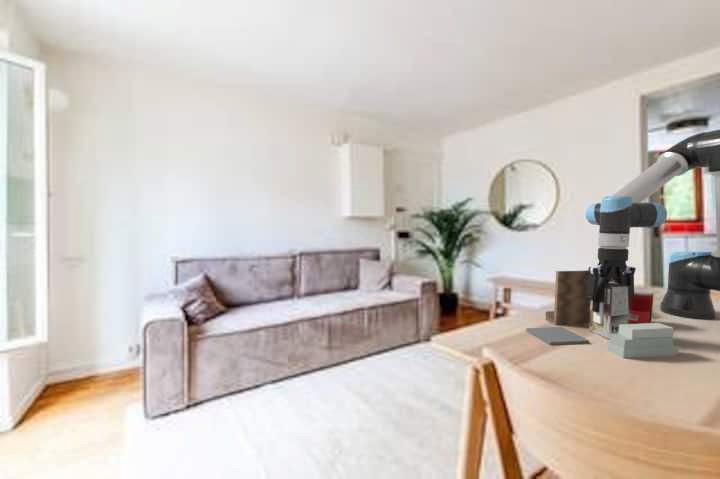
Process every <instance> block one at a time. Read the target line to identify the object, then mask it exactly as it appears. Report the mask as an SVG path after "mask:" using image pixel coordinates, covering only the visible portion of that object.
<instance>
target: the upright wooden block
mask: <svg viewBox="0 0 720 479" xmlns="http://www.w3.org/2000/svg"><path fill="white" fill-rule="evenodd" d="M599 272H600V271H599ZM599 274H600V273H599ZM604 278H605V277H604ZM588 281H589V270H555V288H554V289H555V290H554V309H553V310H554V311H553V310H552V311H550V310H549V311H545V321H547V320H548V321H547V322H549V321H550V322H549V323H551V322H552V323H551V324H553V323H554V324H553V325H555V324H556V325H555V326H566V325H567V326H570V325H573V326H574V325H589V320H590V299H587V298H586V295H587V288H588ZM610 281H612V282H614V280H613V279H611V280H610Z"/></svg>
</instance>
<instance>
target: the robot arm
mask: <svg viewBox="0 0 720 479" xmlns="http://www.w3.org/2000/svg"><path fill="white" fill-rule="evenodd" d="M699 168H700V169H701V168H707V170H708V171H707V172H708V174H710V175H711V176H713V177H714V182H715V183H714V189H715V191H714V192H715V221H716V222H715V224H716V225H715V226H716V228H715V229H716V249H715V250H713V251H675V252H673V253H671V254H670V256H669V262H668V277H667V278H668V279H667V289H666V292H665V294H664V297H663V298H662V301H661V302H660V305H659V310H660V311H661V312H663V313H665V314H668V315H673V316H677V317H683V318H690V319H696V320H697V319H698V320H712V319H716V309H715V308H714V303H713V300H712V298H711V291H715V292H720V129H716V130H710V131H704V132H699V133H696V134H694V135H691V136H688V137H686V138H684V139H682V140H680V141H679V142H677V143H676V144H674V145H672V146H671V147H669V148H668V149H666V150H665V151H664V152H662V153H661V154H660V155H658V157H657V159H656V162H655V163H653V164H652V165H651V166H649V167H648V168H646V169H645V170H644V171H643V172H641V173H640V174H638V175H637V176H636V177H634V179H632V180H631V181H630V182H628V183H627V184H625V185H624V186H623V187H621V189H619V190H618V191H617V192H615V193H614V194H612V195H607V196H603V197H602V198H601V202H597V203H594V204H590V205H589V206H588V207H587V208H586V211H585V218H586V221H587V222H588V223H589V224H591V225H594V226H599V232H598V244H597V245H598V246H600V247H599V248H598V249H597V259H598V264H597V265H596V266H594V267H593V266H588V270H589V281H588V288H587V295H586V298H587V299H590V300H592V301H593V305H592V306H593V307H592V310H593V312H594V319H593V321H594V322H597V323H599V324H602V322H603V305H604V303H603V302H601V300H602V297H603V295H604V285H605V284H608V282H609V281H610V280H611V279H613V280H614V283H618V284H624V285H628V286H632V288H631V299H634V289H635V273H636V270H637V268H636V267H634V266H628V265H627V262H628V261H629V249H628V247H630V233H631V228H648V229H651V228H657V227H660V226H662V225H663V224H665V222H666V220H667V217H668V211H667V208H666V207H665V206H664V205H662V204H661V203H658V202H644V201H645V200H646V199H648V198H649V197H650V196H652V195H653V194H654V193H656V192H657V191H658V190H660V188H662V187H663V186H665V185H666V184H667V183H669V182H670V181H671V180H673V179H674V178H675V177H679V176H683V175H684V174H686V173H687V172H688V171H691V170H695V169H699ZM599 271H600V272H599ZM599 273H600V274H599ZM604 277H605V278H604Z"/></svg>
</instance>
